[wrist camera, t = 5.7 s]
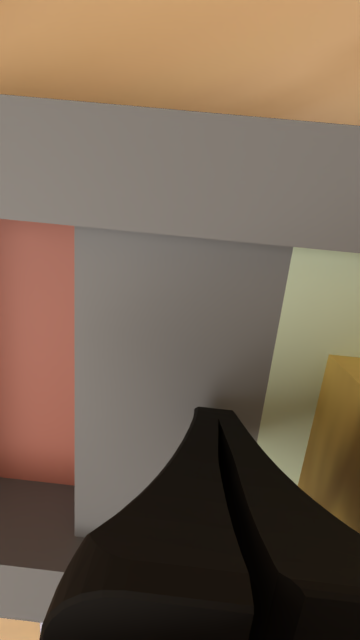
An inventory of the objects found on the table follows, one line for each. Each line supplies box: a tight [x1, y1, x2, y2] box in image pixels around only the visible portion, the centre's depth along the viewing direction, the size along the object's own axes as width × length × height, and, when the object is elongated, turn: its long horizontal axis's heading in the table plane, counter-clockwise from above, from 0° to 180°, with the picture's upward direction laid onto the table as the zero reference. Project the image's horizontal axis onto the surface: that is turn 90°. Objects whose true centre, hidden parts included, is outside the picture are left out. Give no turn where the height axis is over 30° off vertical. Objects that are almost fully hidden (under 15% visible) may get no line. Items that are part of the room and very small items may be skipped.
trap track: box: [0, 94, 360, 623], centre depth 13 cm, size 19×31×4 cm, turn 85°
